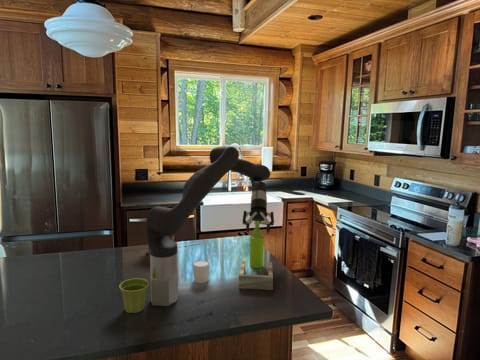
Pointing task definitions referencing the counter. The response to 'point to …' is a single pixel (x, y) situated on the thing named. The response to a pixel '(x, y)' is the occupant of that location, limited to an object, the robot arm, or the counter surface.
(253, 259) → the soap dispenser
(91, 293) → the counter surface
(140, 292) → the plant pot
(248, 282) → the shelf
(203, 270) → the shot glass
